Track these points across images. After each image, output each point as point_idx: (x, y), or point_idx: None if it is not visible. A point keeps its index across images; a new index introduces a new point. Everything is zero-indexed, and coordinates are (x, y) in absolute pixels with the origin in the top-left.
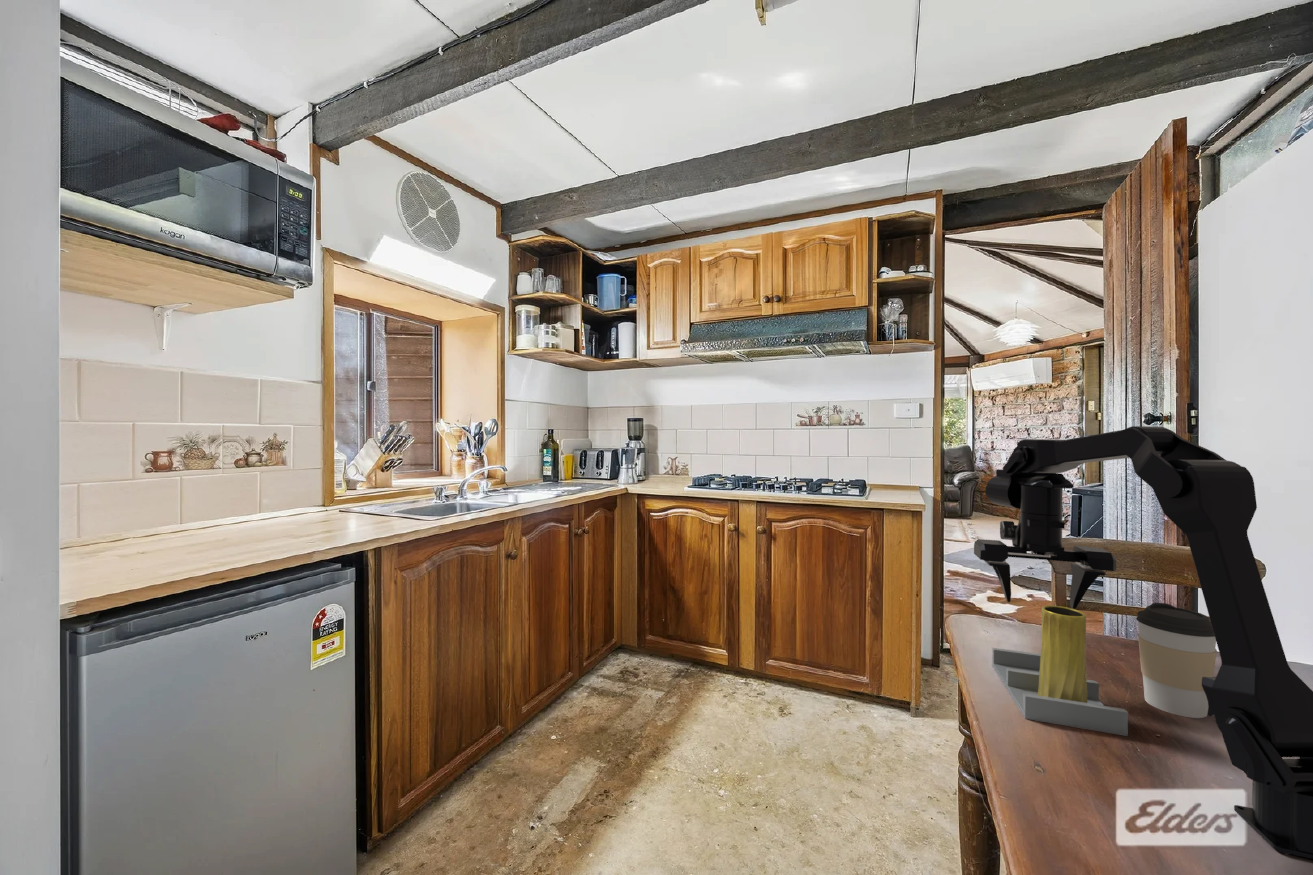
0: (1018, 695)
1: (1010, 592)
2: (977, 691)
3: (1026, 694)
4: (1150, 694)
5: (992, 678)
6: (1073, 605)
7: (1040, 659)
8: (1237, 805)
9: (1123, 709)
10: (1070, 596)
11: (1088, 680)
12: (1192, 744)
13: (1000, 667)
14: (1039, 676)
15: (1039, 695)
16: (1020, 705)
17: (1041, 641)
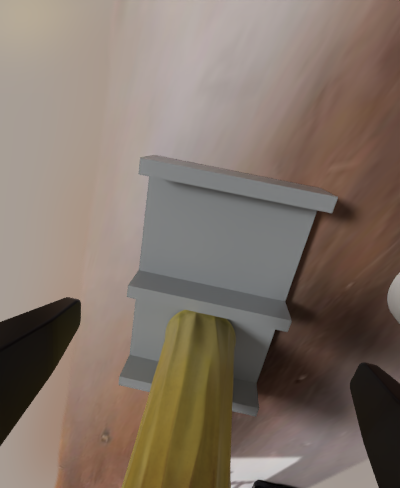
0: (142, 313)
1: (39, 387)
2: (87, 284)
3: (122, 380)
4: (398, 305)
5: (131, 226)
6: (355, 406)
7: (151, 386)
8: (259, 485)
9: (255, 410)
10: (395, 412)
11: (275, 321)
12: (331, 394)
13: (157, 191)
14: (161, 352)
15: (166, 333)
16: (131, 343)
17: (144, 418)
